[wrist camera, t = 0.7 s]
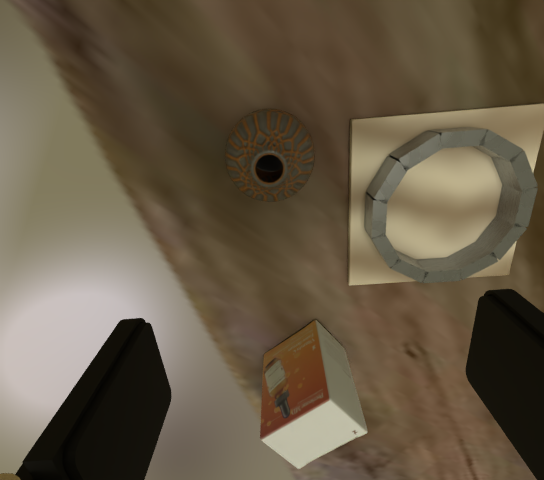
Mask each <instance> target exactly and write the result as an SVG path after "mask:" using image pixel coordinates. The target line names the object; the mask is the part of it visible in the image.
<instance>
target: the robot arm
mask: <svg viewBox="0 0 544 480" xmlns="http://www.w3.org/2000/svg"><path fill="white" fill-rule="evenodd" d="M466 375H467V378H468V381H469V383H470V384H471V386H472V387H473V388H474V390H475V391H476V393H477V394H478V396H479V397H480V398H481V400H482V401H483V403H484V404H485V406H486V407H487V409H488V410H489V411H490V413H491V414H492V416H493V417H494V419H495V420H496V421H497V423H498V424H499V426H500V427H501V429H502V430H503V432H504V433H505V434H506V436H507V437H508V439H509V440H510V442H511V443H512V444H513V446H514V447H515V449H516V450H517V452H518V453H519V454H520V456H521V457H522V459H523V460H524V462H525V463H526V465H527V466H528V467H529V469H530V470H531V472H532V473H533V475H534V476H535V477H536V479H537V480H544V313H543V312H541V311H540V310H539V309H537V308H536V307H535V306H534V305H532V304H531V303H530V302H529V301H527V300H526V299H525V298H523V297H522V296H521V295H520V294H518V293H517V292H516V291H514V290H512V289H500V290H489V291H486V293H485V294H484V296H482V297H480V298H479V301H478V306H477V311H476V316H475V322H474V327H473V332H472V338H471V343H470V348H469V354H468V359H467V364H466ZM170 402H171V388H170V385H169V382H168V379H167V375H166V372H165V369H164V365H163V362H162V359H161V356H160V352H159V349H158V345H157V342H156V339H155V335H154V332H153V329H152V326H151V324H150V323H146V322H145V320H144V319H142V318H136V319H124V320H121V321H120V322H119V323H118V324H117V326H116V327H115V329H114V330H113V332H112V333H111V335H110V336H109V337H108V339H107V340H106V342H105V343H104V345H103V346H102V348H101V349H100V350H99V352H98V353H97V355H96V356H95V358H94V359H93V361H92V362H91V363H90V365H89V366H88V368H87V369H86V371H85V372H84V374H83V375H82V377H81V378H80V379H79V381H78V382H77V384H76V385H75V387H74V388H73V389H72V391H71V392H70V394H69V395H68V397H67V398H66V400H65V401H64V403H63V404H62V405H61V407H60V408H59V410H58V411H57V412H56V414H55V415H54V417H53V418H52V420H51V421H50V423H49V424H48V426H47V427H46V429H45V430H44V431H43V433H42V434H41V436H40V437H39V438H38V440H37V441H36V443H35V444H34V446H33V447H32V449H31V450H30V451H29V453H28V454H27V456H26V457H25V459H24V460H23V464H22V466H21V467H20V468H19V470H18V471H17V473H16V474H15V475H14V474H13V473H1V474H0V480H144V479H145V476H146V473H147V470H148V467H149V464H150V461H151V458H152V455H153V452H154V450H155V447H156V444H157V441H158V438H159V435H160V432H161V429H162V426H163V423H164V420H165V417H166V414H167V411H168V408H169V405H170Z"/></svg>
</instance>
